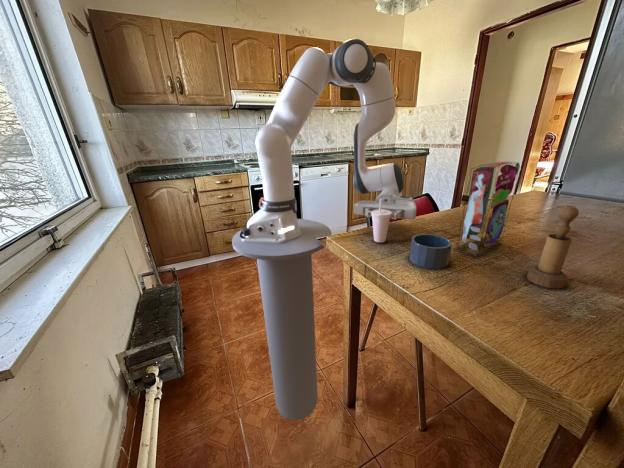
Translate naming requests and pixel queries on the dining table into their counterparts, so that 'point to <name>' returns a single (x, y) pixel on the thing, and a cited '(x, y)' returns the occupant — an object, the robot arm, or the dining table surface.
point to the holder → (430, 251)
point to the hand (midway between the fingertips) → (380, 216)
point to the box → (480, 199)
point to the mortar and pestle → (554, 253)
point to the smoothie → (380, 223)
